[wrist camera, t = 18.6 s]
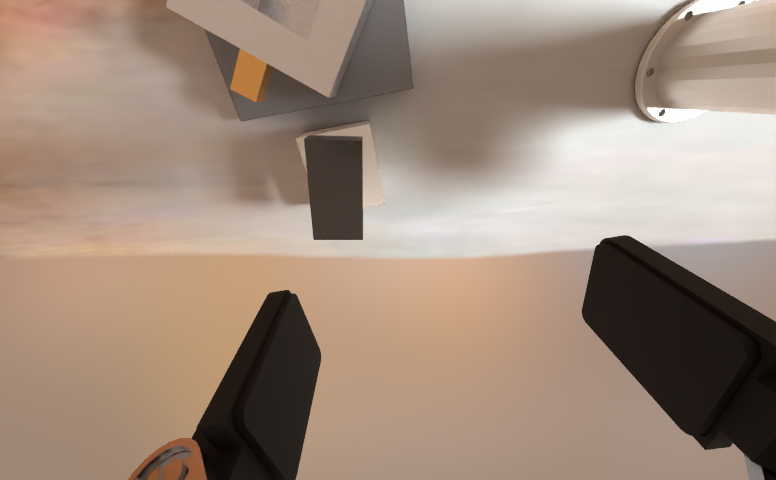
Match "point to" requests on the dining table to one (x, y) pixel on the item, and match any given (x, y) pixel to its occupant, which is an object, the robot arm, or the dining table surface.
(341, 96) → the grey flat slab
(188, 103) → the dining table surface
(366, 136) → the key stand
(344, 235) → the block
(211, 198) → the dining table surface
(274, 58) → the chuck
